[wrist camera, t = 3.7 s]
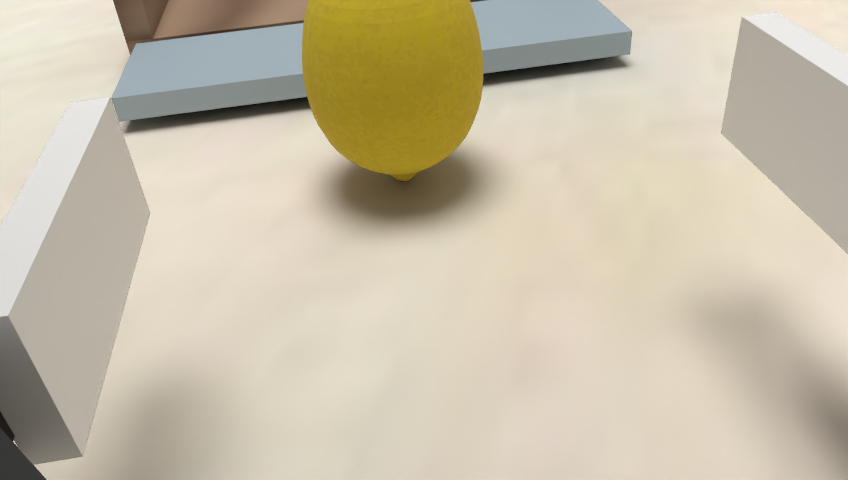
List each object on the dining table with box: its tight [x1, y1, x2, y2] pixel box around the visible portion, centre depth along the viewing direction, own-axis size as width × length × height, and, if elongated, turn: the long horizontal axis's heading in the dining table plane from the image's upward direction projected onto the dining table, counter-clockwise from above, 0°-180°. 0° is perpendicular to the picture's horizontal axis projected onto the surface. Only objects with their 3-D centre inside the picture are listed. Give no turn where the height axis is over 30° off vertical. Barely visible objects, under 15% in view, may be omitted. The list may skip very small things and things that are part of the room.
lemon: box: [302, 0, 483, 181], centre depth 23 cm, size 6×6×8 cm
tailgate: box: [111, 0, 632, 122], centre depth 32 cm, size 21×1×6 cm
